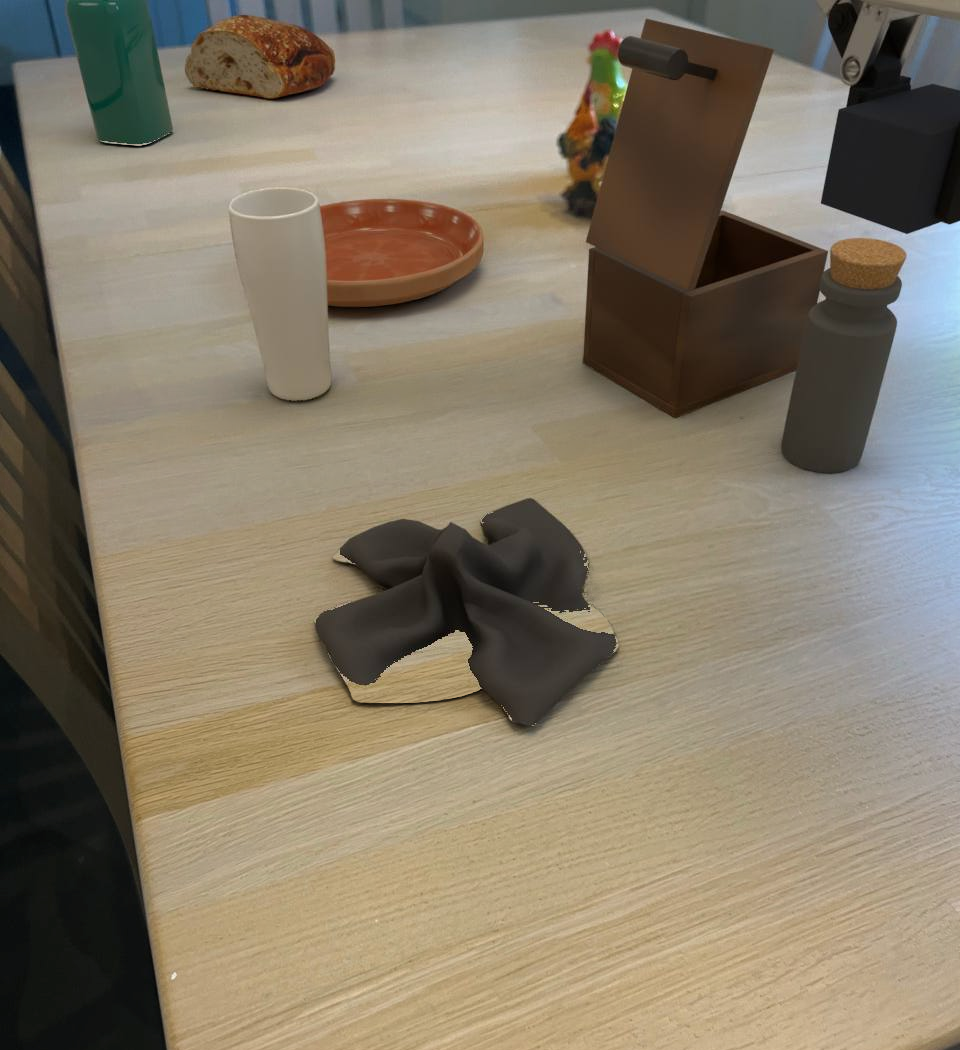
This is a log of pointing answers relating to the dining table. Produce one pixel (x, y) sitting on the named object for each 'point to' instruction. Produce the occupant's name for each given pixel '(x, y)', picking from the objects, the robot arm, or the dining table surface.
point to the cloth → (473, 605)
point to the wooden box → (703, 317)
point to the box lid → (675, 147)
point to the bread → (259, 58)
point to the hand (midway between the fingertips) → (911, 193)
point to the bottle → (843, 356)
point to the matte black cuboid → (893, 157)
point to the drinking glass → (285, 286)
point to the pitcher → (120, 69)
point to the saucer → (396, 250)
